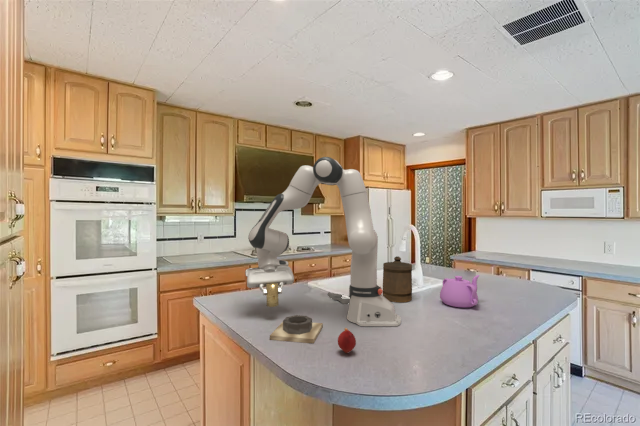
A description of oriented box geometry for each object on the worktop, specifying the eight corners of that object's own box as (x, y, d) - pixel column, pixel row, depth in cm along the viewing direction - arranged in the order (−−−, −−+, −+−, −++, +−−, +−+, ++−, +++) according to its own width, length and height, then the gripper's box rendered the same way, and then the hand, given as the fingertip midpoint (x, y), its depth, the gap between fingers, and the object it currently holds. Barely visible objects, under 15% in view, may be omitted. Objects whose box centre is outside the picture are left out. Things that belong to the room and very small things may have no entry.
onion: (354, 348, 106) (354, 324, 106) (357, 356, 101) (357, 331, 101) (336, 349, 106) (336, 325, 106) (338, 357, 100) (338, 331, 100)
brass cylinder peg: (280, 303, 138) (279, 282, 138) (276, 307, 133) (275, 285, 133) (269, 303, 139) (268, 282, 139) (264, 306, 134) (264, 285, 134)
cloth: (362, 306, 156) (362, 301, 156) (335, 308, 153) (335, 303, 153) (346, 293, 181) (346, 289, 181) (322, 294, 178) (322, 290, 178)
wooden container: (415, 297, 170) (415, 255, 170) (407, 304, 157) (407, 259, 157) (388, 293, 177) (388, 254, 177) (378, 300, 165) (378, 257, 165)
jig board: (322, 327, 126) (322, 314, 126) (313, 343, 111) (313, 329, 111) (283, 324, 130) (283, 311, 130) (269, 339, 114) (269, 325, 114)
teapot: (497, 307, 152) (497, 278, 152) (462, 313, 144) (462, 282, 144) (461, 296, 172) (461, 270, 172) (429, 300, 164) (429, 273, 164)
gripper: (245, 264, 139) (247, 292, 130) (291, 261, 145) (297, 287, 136) (244, 272, 143) (247, 300, 134) (289, 269, 150) (294, 295, 140)
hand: (272, 293), depth 135 cm, fingers closed on brass cylinder peg, 5 cm apart
